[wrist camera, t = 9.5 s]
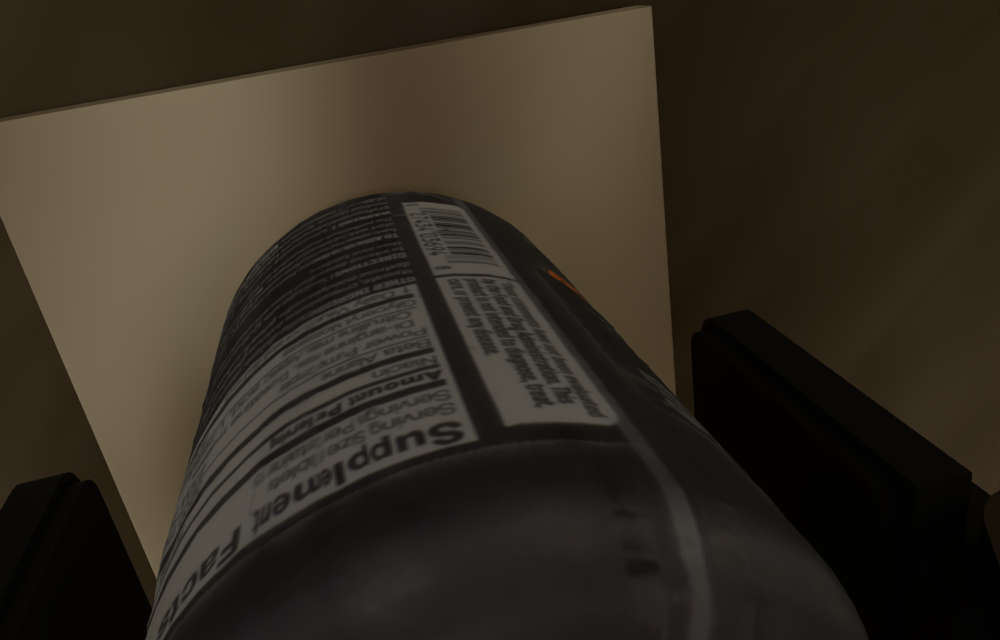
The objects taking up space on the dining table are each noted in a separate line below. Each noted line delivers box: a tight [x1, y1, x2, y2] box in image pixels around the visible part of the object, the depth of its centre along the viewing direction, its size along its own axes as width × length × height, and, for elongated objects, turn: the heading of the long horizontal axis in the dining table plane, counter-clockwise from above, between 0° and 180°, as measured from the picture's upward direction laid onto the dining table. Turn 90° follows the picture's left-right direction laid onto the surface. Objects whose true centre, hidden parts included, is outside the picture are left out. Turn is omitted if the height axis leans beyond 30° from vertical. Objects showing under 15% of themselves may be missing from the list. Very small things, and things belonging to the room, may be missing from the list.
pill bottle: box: [145, 191, 869, 640], centre depth 8 cm, size 6×6×11 cm
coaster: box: [0, 5, 676, 579], centre depth 14 cm, size 10×10×1 cm
